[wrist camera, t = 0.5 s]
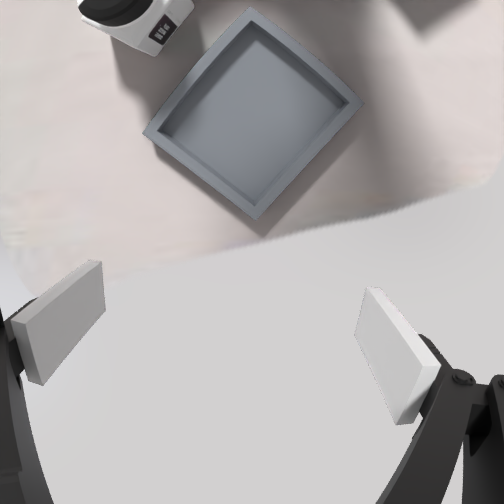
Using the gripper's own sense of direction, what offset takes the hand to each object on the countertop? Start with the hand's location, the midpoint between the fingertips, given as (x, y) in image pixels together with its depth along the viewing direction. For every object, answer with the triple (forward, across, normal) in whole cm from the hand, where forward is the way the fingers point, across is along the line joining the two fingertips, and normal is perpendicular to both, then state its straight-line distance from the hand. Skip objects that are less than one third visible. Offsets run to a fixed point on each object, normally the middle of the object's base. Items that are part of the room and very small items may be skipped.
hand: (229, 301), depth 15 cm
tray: (+23, 0, +12) cm, 26 cm away
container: (+21, -13, +23) cm, 34 cm away
